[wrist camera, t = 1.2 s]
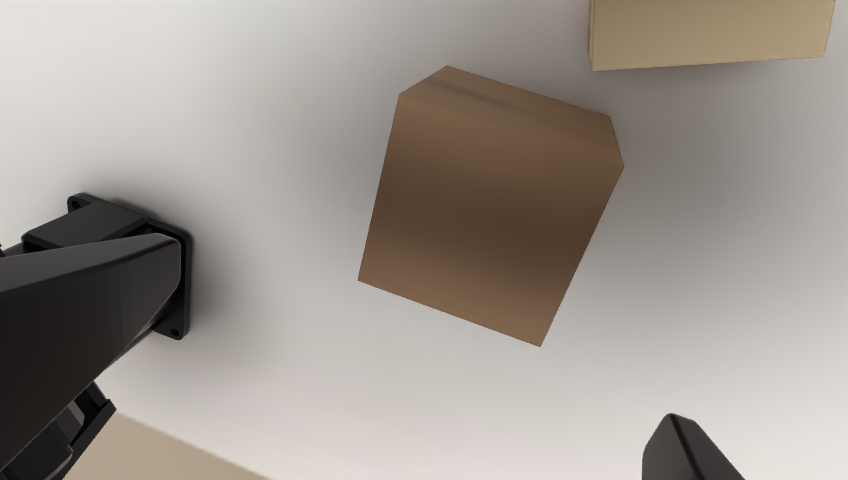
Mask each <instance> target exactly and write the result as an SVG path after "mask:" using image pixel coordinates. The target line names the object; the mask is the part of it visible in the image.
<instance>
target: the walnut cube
mask: <svg viewBox="0 0 848 480" xmlns="http://www.w3.org/2000/svg"><path fill="white" fill-rule="evenodd" d="M623 168H624V164H623V160H622V157H621V154H620V150H619V147H618V144H617V140H616V137H615V133H614V130H613V127H612V123H611V120H610V116H607V115H603V114H600V113H597V112H594V111H590V110H587V109H584V108H581V107H578V106H574V105H571V104H568V103H565V102H562V101H558V100H555V99H552V98H549V97H545V96H542V95H539V94H536V93H533V92H529V91H526V90H523V89H520V88H517V87H513V86H510V85H507V84H504V83H500V82H497V81H494V80H491V79H488V78H484V77H481V76H478V75H475V74H471V73H468V72H465V71H462V70H459V69H455V68H452V67H449V66H446V67H444V68H442V69H441V70H439V71H437V72H436V73H434V74H432V75H431V76H429V77H427V78H426V79H424V80H422V81H421V82H419V83H417V84H416V85H414V86H412V87H411V88H409V89H407V90H406V91H404V92H402V93H401V94H399V98H398V102H397V107H396V111H395V116H394V120H393V125H392V129H391V133H390V138H389V142H388V147H387V151H386V156H385V160H384V165H383V169H382V173H381V178H380V182H379V187H378V191H377V196H376V200H375V205H374V209H373V213H372V218H371V222H370V227H369V231H368V236H367V240H366V245H365V249H364V253H363V258H362V262H361V267H360V271H359V276H358V281H361V282H363V283H366V284H369V285H371V286H374V287H377V288H380V289H382V290H385V291H388V292H391V293H393V294H396V295H399V296H402V297H404V298H407V299H410V300H412V301H415V302H418V303H421V304H423V305H426V306H429V307H432V308H434V309H437V310H440V311H443V312H445V313H448V314H451V315H453V316H456V317H459V318H462V319H464V320H467V321H470V322H473V323H475V324H478V325H481V326H484V327H486V328H489V329H492V330H494V331H497V332H500V333H503V334H505V335H508V336H511V337H514V338H516V339H519V340H522V341H525V342H527V343H530V344H533V345H535V346H538V347H541V345H542V343H543V341H544V338H545V336H546V334H547V332H548V330H549V328H550V325H551V323H552V321H553V319H554V317H555V315H556V312H557V310H558V308H559V306H560V304H561V302H562V300H563V297H564V295H565V293H566V291H567V289H568V287H569V284H570V282H571V280H572V278H573V276H574V274H575V272H576V269H577V267H578V265H579V263H580V261H581V259H582V256H583V254H584V252H585V250H586V248H587V246H588V243H589V241H590V239H591V237H592V235H593V233H594V231H595V228H596V226H597V224H598V222H599V220H600V218H601V215H602V213H603V211H604V209H605V207H606V205H607V202H608V200H609V198H610V196H611V194H612V192H613V190H614V187H615V185H616V183H617V181H618V179H619V177H620V174H621V172H622V170H623Z"/></svg>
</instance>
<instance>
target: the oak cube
mask: <svg viewBox="0 0 848 480" xmlns="http://www.w3.org/2000/svg"><path fill="white" fill-rule="evenodd" d="M835 1H836V0H590V2H589V33H588V54H589V58H590V62H591V66H592V70H593V71H603V70H619V69H635V68H651V67H667V66H683V65H699V64H715V63H731V62H747V61H763V60H779V59H795V58H811V57H824V54H825V49H826V44H827V39H828V34H829V30H830V25H831V20H832V15H833V10H834V5H835Z"/></svg>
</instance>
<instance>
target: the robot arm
mask: <svg viewBox="0 0 848 480" xmlns="http://www.w3.org/2000/svg"><path fill="white" fill-rule="evenodd" d="M67 205H68V214H66V215H64V216H62V217H59V218H57V219H55V220H53V221H50V222H48V223H46V224H44V225H41V226H39V227H37V228H35V229H32V230H30V231H28V232H26V233H25V234H23V235H22V236H21V240H22V242H21V243H19V244H17V245H15V246H12V247H10V248H8V249H6V250H4V251H2V250H1V249H0V480H62V479H63V478H64V477H65V475H66V474H67V473H68V471H69V470H70V469H71V468H72V466H73V465H74V464H75V462H76V461H77V460H78V458H79V457H80V456H81V455H82V453H83V452H84V451H85V450H86V448H87V447H88V445H89V444H90V443H91V442H92V440H93V439H94V438H95V437H96V435H97V434H98V433H99V432H100V430H101V429H102V427H103V426H104V425H105V424H106V422H107V421H108V420H109V418H110V417H111V416H112V415H113V413H114V412H115V411H116V407H115V406H114V404H113V403H112V402H111V400H110V399H106V397H105V396H104V394H103V393H102V392H101V390H100V389H99V387H98V386H97V384H96V383H95V382H94V380H95V379H96V378H97V377H98V376H99V375H100V374H101V373H102V372H103V371H104V370H105V369H107V368H108V367H109V366H110V365H112V364H113V363H114V362H115V361H117V360H118V359H119V358H120V357H121V356H123V355H124V354H125V353H126V352H128V351H129V350H130V349H131V348H133V347H134V346H135V345H136V344H137V343H139V342H140V341H141V340H142V339H144V338H145V337H146V336H147V335H149V334H150V333H151V332H152V331H155V332H157V333H160V334H162V335H165V336H168V337H170V338H173V339H175V340H181V339H182V338H183V337H184V336H185V335H187V334H188V326H189V300H190V274H191V248H192V242H191V238H190V236H189V235H188V234H187V233H186V232H184V231H182V230H179V229H177V228H174V227H171V226H168V225H166V224H163V223H160V222H158V221H155V220H152V219H149V218H147V217H144V216H143V215H140V214H137V213H135V212H132V211H129V210H126V209H124V208H121V207H118V206H116V205H113V204H110V203H107V202H105V201H102V200H98V199H95V198H93V197H90V196H87V195H84V194H81V193H78V194H75V195H73V196H70V197H69V198H68V200H67ZM178 239H179V240H180V242H181V243H180V242H179V241H178ZM1 246H2V245H1V244H0V247H1ZM642 480H745V479H744V478H743V477H742V476H741V474H740V473H739V472H738V471H737V470H736V469H735V467H734V466H733V465H732V464H731V463H730V462H729V460H728V459H727V458H726V457H725V456H724V454H723V453H722V452H721V451H720V450H719V449H718V447H717V446H716V445H715V444H714V443H713V441H712V440H711V439H710V438H709V437H708V436H707V434H706V433H705V432H704V431H703V430H702V429H701V427H700V426H699V425H698V424H697V423H696V422H695V421H693V420H691V419H688V418H685V417H682V416H679V415H677V414H674V413H670V414H667V415H666V416H665V417H664V418H663V419H662V421H661V422H660V424H659V426H658V427H657V429H656V430H655V432H654V433H653V435H652V437H651V438H650V440H649V441H648V443H647V445H646V447H645V449H644V453H643V459H642Z"/></svg>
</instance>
